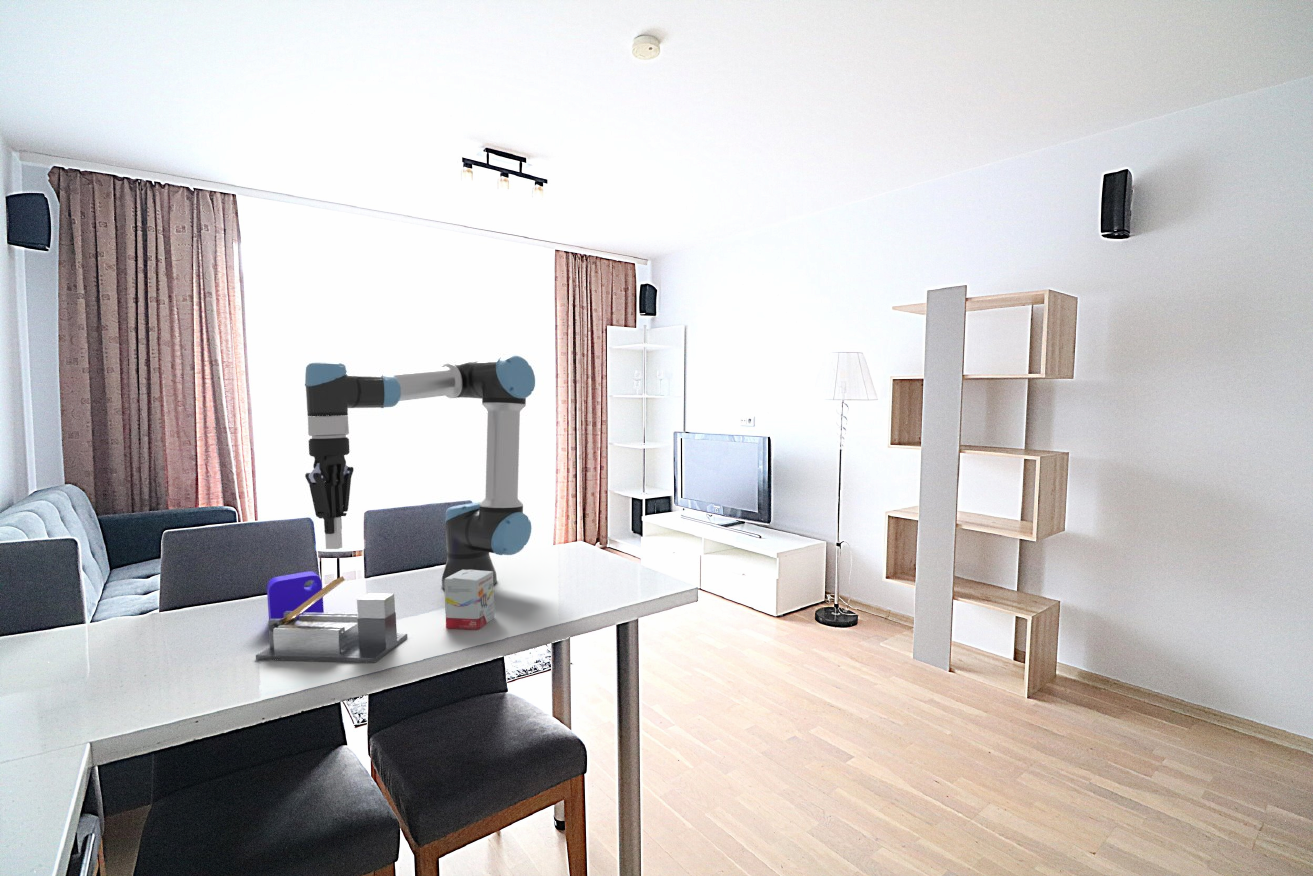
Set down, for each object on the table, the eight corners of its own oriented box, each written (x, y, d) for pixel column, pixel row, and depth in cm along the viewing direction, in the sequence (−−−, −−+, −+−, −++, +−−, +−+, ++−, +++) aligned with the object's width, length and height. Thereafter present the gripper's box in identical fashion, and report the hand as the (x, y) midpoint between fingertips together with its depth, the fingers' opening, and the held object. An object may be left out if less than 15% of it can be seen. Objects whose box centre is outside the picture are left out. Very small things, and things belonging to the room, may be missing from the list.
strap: (285, 627, 135) (280, 620, 135) (346, 581, 133) (341, 574, 133) (275, 632, 132) (270, 625, 132) (337, 585, 130) (332, 578, 130)
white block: (368, 611, 133) (367, 593, 133) (395, 612, 133) (394, 593, 133) (357, 618, 129) (356, 599, 129) (385, 618, 129) (384, 599, 129)
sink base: (298, 635, 141) (296, 603, 140) (407, 638, 138) (405, 605, 137) (255, 659, 128) (253, 624, 127) (374, 662, 125) (373, 627, 124)
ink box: (478, 630, 141) (476, 579, 141) (444, 628, 143) (442, 578, 142) (495, 617, 150) (494, 569, 149) (463, 615, 152) (461, 568, 151)
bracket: (324, 621, 150) (321, 573, 149) (271, 632, 143) (268, 582, 142) (310, 603, 164) (308, 559, 163) (262, 612, 157) (259, 567, 157)
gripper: (331, 435, 136) (336, 541, 138) (290, 438, 123) (296, 555, 125) (363, 435, 136) (368, 541, 137) (325, 438, 123) (331, 555, 124)
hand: (334, 548), depth 131 cm, fingers closed
